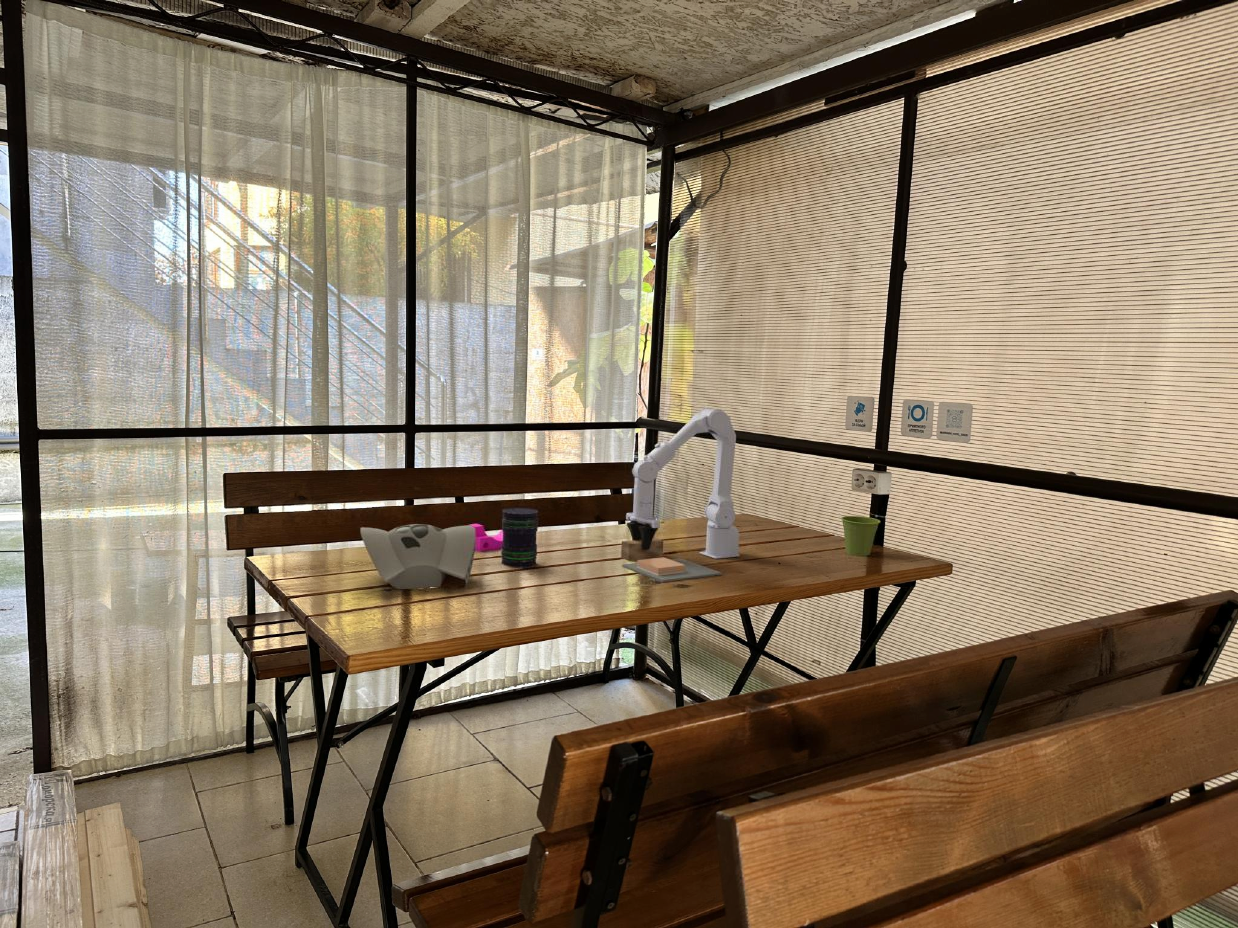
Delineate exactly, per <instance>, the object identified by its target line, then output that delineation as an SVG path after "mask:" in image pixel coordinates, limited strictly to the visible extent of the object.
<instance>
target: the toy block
mask: <svg viewBox="0 0 1238 928" xmlns="http://www.w3.org/2000/svg"><path fill="white" fill-rule="evenodd" d="M469 525H470V526H473V527H474V529H475V535H476V544H475V552H487V551H488V552H489V551H500V550H499V549H502V544H503V530H502V529H501V531H500V532H499V533H498V534H496V535H494V536H491V535H487V533H486V531H485V527H484V525H481V524H480V523H472V524H469Z"/></svg>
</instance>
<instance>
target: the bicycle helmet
mask: <svg viewBox="0 0 1238 928" xmlns="http://www.w3.org/2000/svg"><path fill="white" fill-rule="evenodd" d="M359 531H360V536H361V539H362V541H363V545H364V547H365V549H366V551H367V553H368V555H369V558H370V560H371V561H372V564H373V566H374V567H375V569H376V571H377V573H378V574H379V576H380V577H381V579H382V580H383V581H384V582H385V583H386V584H387V583H388V584H389V585H390V586H391V587H393V588H394V587H395V588H394V589H396V588H397V589H396V590H399V589H418V590H420V589H419V588H430V587H440V586H450V587H460V586H464V588H466V587H467V585H468V582H469V579H470V577H471V573H472V569H473V568H472V567H473V563H474V559H475V553H476V551H475V544H476V535H475V529H474V527H473V526H470V524H468V525H458V526H452V527H451V526H450V527H448V528H444V529H442V528H440V527H437V526H434V525H430V524H422V523H421V524H419V523H414V524H406V525H401V526H397V527H394V528H393V529H391V530H389V531H387V530H383V529H380V528H376V527H375V528H373V527H360V530H359ZM440 588H441V587H440Z"/></svg>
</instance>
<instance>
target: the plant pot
mask: <svg viewBox="0 0 1238 928" xmlns="http://www.w3.org/2000/svg"><path fill="white" fill-rule="evenodd" d="M840 520H841V521H842V528H843V536H844V547H845V554H847V555H850V556H854V555H855V556H856V557H868V556H867V555H869V556H870V554H871V551H872V547H873V545H874V540H875V536H876V532H877V530H878V526H879V524H881V520H880V519H877V518H873V517H868V516H859V515H858V516H857V515H845V516H841V517H840Z"/></svg>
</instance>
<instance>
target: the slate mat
mask: <svg viewBox="0 0 1238 928" xmlns="http://www.w3.org/2000/svg"><path fill="white" fill-rule="evenodd" d="M669 559H670V560H673V561H676V562H678V563H681V564H684V565H685V572H684V573H675V574H667V575H659V576H658V575H655V574H653V573H650V572H648V571H645V570H643V569H640V568H637V562H634V563H633V562H631V563H623V564H622V568H625V569H628V570H630V571H633V572H635V573H637V574H640V575H643V576H644V577H646V578H647V577H648V578H650V579H652V580H655V581H658V582H660V583H669V582H676V581H685V580H692V579H693V580H694V579H698V578H708V577H715V575H717V576H722V575H723V573H722V572H720V571H718V570H715V569H714V568H713V569H712V568H709V567H706V566H704V565H701V564H699V563H695V562H692V561H691V560H690V561H689V560H686V559H684V558H680V557H678V558H669Z"/></svg>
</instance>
